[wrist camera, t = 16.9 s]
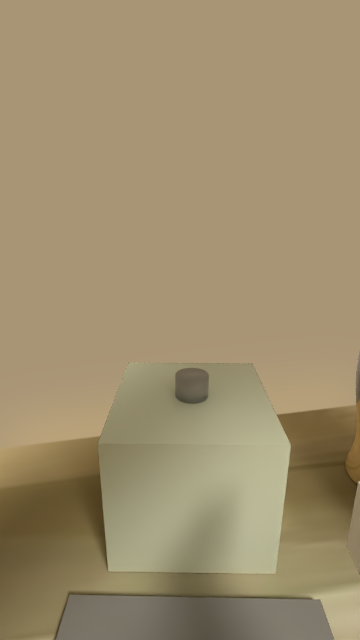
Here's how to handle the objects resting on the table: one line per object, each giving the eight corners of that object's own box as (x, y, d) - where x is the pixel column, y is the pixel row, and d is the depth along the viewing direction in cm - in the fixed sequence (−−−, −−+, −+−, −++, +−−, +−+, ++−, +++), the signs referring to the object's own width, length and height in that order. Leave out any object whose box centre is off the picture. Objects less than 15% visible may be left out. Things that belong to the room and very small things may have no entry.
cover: (245, 457, 32) (253, 346, 29) (275, 573, 22) (293, 420, 18) (132, 456, 32) (127, 345, 29) (108, 571, 22) (95, 419, 18)
